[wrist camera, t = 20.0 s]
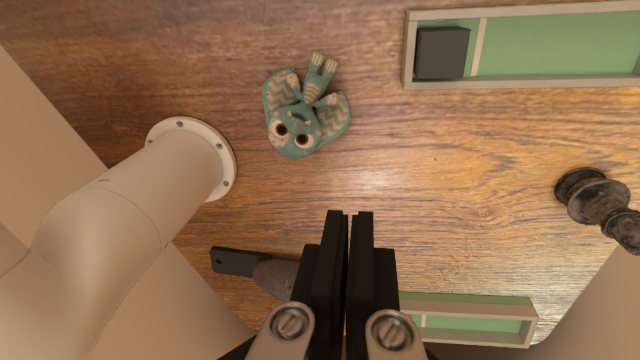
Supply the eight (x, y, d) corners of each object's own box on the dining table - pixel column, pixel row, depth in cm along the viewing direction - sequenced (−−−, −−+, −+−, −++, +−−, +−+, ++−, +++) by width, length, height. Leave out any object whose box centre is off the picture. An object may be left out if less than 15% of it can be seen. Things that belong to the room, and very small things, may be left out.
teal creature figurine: (376, 79, 29) (323, 187, 34) (370, 77, 36) (327, 167, 40) (271, 28, 29) (229, 145, 33) (285, 35, 35) (249, 131, 39)
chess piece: (595, 209, 39) (677, 285, 28) (544, 205, 39) (606, 277, 29) (618, 167, 36) (720, 234, 25) (563, 162, 36) (640, 226, 26)
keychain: (271, 280, 52) (213, 272, 53) (272, 277, 52) (215, 269, 53) (270, 257, 49) (209, 249, 50) (271, 254, 50) (211, 246, 51)
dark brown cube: (412, 71, 32) (417, 79, 29) (416, 28, 30) (421, 31, 27) (453, 70, 32) (462, 78, 28) (459, 26, 30) (471, 29, 26)
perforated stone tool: (256, 266, 51) (242, 301, 45) (261, 242, 49) (246, 276, 43) (344, 290, 52) (342, 328, 46) (354, 268, 49) (353, 306, 43)
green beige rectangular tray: (400, 82, 35) (403, 90, 32) (405, 10, 31) (409, 11, 28) (626, 78, 31) (653, 86, 28) (659, -3, 28) (694, -3, 25)
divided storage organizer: (378, 319, 54) (379, 338, 51) (378, 290, 51) (378, 309, 48) (519, 327, 50) (528, 348, 47) (528, 297, 47) (539, 317, 44)
